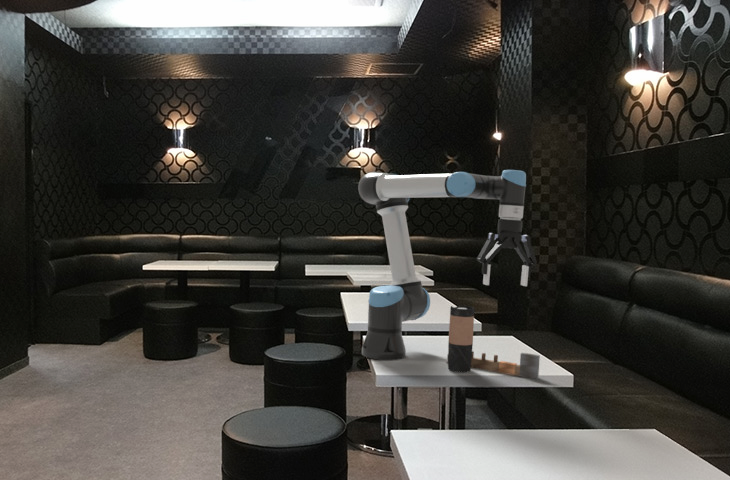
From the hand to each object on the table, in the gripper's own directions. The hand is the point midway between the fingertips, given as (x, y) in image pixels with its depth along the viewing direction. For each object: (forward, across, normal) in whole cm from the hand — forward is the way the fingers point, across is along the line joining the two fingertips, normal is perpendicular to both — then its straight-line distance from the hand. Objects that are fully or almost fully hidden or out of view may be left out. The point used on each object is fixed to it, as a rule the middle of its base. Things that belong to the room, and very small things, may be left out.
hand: (505, 285), depth 193 cm
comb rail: (+27, -3, -1) cm, 28 cm away
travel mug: (+28, -13, +1) cm, 31 cm away
